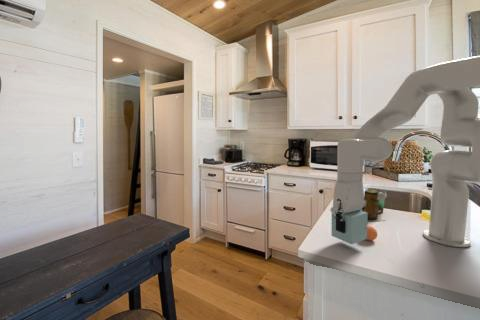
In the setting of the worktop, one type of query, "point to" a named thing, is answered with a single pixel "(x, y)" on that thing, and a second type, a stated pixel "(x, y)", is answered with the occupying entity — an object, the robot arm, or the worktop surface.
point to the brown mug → (372, 205)
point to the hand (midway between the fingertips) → (348, 228)
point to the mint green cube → (352, 227)
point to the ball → (371, 233)
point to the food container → (380, 199)
